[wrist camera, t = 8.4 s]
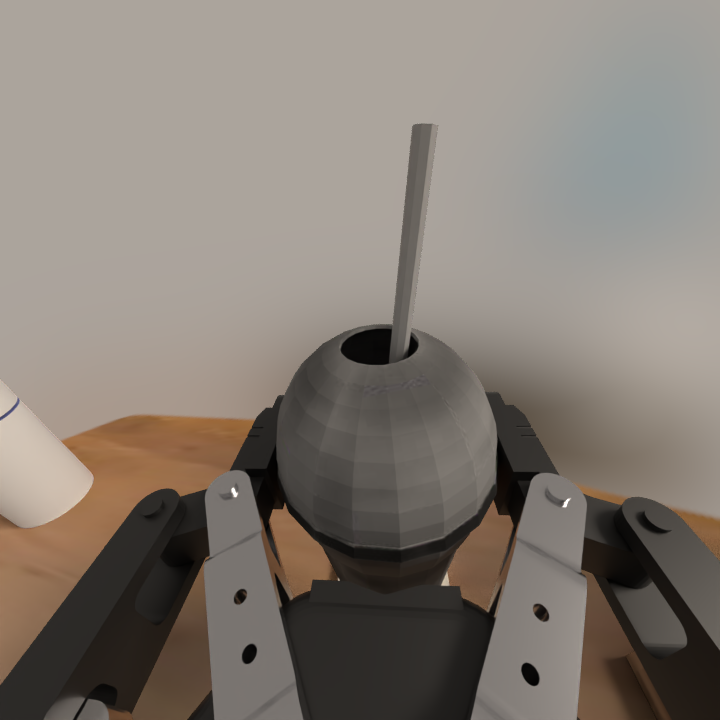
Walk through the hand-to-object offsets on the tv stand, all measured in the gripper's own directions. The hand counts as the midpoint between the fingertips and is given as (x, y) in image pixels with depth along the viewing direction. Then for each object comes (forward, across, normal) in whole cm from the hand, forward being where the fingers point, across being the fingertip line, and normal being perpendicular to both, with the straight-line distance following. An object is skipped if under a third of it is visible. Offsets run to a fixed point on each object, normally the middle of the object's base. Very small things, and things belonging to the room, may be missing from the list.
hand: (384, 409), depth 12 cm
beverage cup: (-2, 0, +11) cm, 11 cm away
